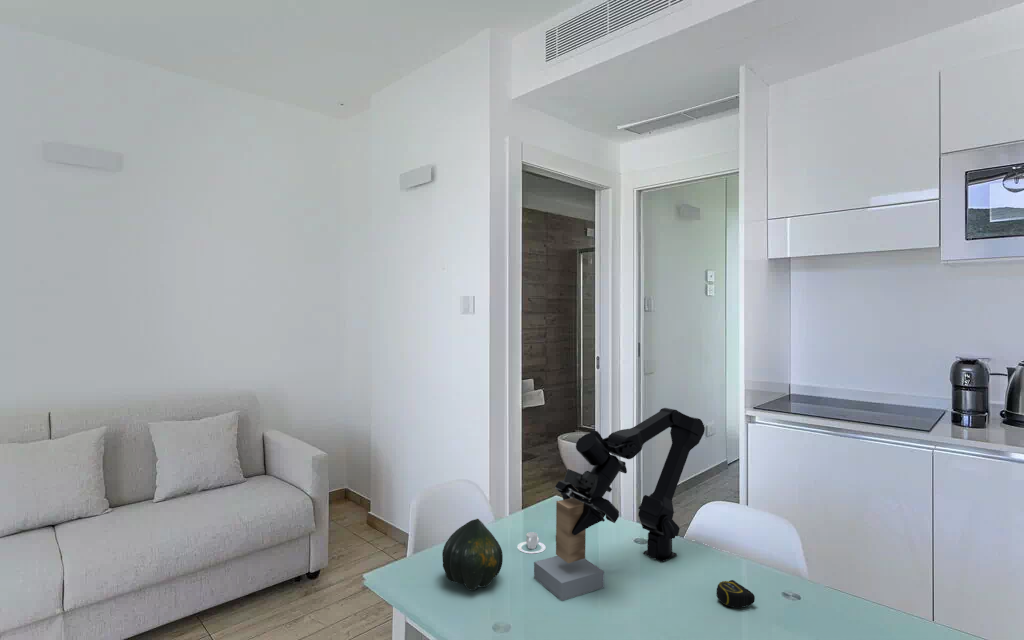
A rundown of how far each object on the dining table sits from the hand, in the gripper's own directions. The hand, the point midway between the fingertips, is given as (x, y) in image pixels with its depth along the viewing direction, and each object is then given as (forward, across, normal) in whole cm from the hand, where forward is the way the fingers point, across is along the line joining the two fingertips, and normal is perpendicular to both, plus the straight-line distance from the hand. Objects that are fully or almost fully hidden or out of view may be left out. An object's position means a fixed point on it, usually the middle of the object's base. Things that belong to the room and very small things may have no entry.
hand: (566, 530), depth 127 cm
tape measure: (-10, +25, +30) cm, 40 cm away
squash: (+22, -14, -3) cm, 27 cm away
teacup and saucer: (+5, -22, +16) cm, 27 cm away
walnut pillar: (+4, 0, +6) cm, 7 cm away
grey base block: (+8, -1, +10) cm, 14 cm away
